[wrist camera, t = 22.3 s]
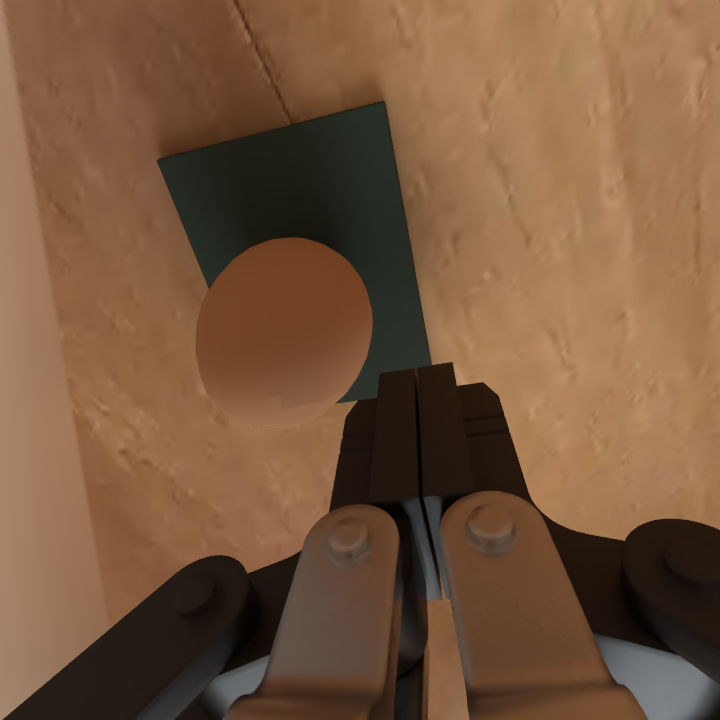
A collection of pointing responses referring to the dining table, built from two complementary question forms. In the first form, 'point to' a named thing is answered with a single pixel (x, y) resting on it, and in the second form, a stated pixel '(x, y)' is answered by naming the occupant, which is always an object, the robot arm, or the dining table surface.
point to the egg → (283, 333)
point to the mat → (313, 216)
